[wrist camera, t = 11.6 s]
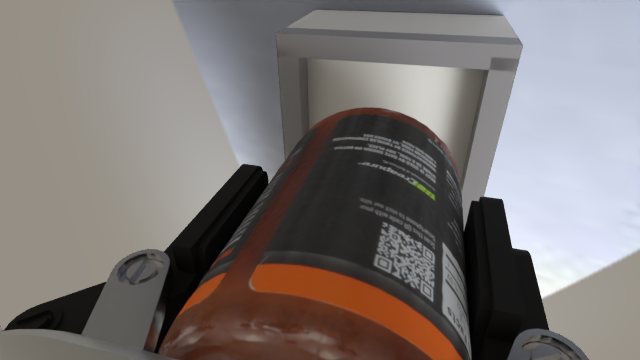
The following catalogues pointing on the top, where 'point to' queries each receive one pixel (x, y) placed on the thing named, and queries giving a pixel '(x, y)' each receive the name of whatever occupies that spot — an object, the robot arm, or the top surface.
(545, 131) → the top surface
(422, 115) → the box
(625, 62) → the top surface
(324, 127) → the supplement bottle
